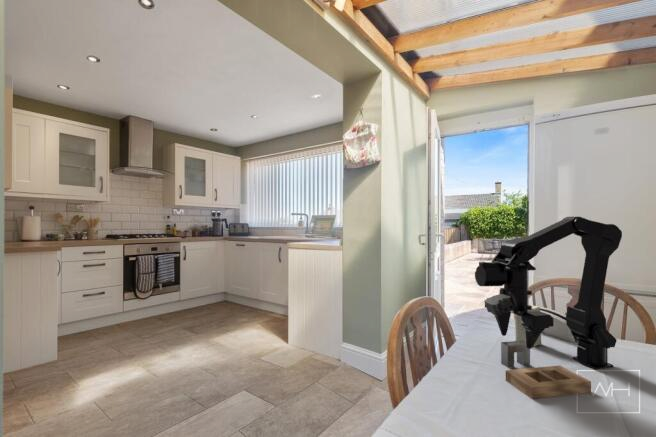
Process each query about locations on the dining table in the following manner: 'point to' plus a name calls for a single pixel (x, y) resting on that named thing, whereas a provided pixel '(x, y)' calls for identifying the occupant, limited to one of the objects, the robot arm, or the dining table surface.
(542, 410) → the dining table surface
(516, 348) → the clip
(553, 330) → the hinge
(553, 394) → the two-slot wooden tray
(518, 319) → the skincare box
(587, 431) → the dining table surface
